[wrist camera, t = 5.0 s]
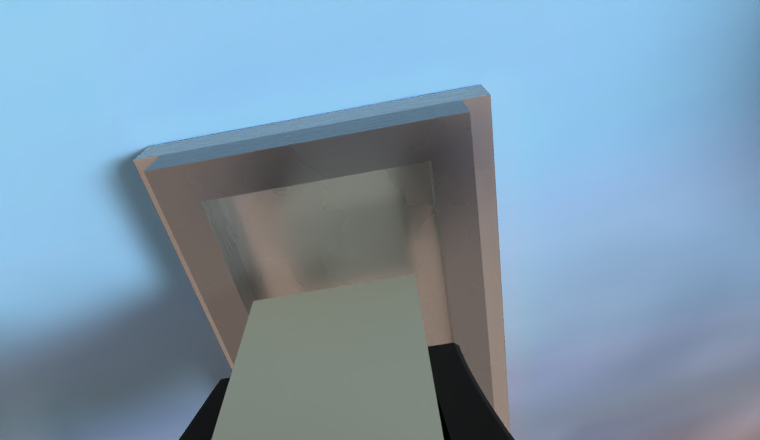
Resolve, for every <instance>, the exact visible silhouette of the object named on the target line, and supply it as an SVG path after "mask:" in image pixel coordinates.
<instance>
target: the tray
mask: <svg viewBox="0 0 760 440" xmlns="http://www.w3.org/2000/svg"><path fill="white" fill-rule="evenodd" d="M133 162H134V164H135V166H136V168H137V170H138V172H139V174H140V176H141V179H142V181H143V183H144V185H145V187H146V189H147V191H148V193H149V195H150V198H151V200H152V202H153V204H154V206H155V208H156V210H157V212H158V215H159V217H160V219H161V221H162V223H163V225H164V227H165V229H166V231H167V234H168V236H169V238H170V240H171V242H172V244H173V246H174V248H175V251H176V253H177V255H178V257H179V259H180V261H181V263H182V265H183V267H184V270H185V272H186V274H187V276H188V278H189V280H190V282H191V284H192V286H193V289H194V291H195V293H196V295H197V297H198V299H199V301H200V303H201V306H202V308H203V310H204V312H205V314H206V316H207V318H208V320H209V322H210V325H211V327H212V329H213V331H214V333H215V335H216V337H217V339H218V341H219V344H220V346H221V348H222V350H223V352H224V354H225V356H226V358H227V361H228V363H229V365H230V367H231V369H232V370H233V367H234V363H235V360H236V357H237V353H238V350H239V347H240V344H241V340H242V337H243V334H244V330H245V327H246V324H247V320H248V317H249V314H250V310H251V307H252V304H253V301H257V300H263V299H269V298H275V297H281V296H287V295H293V294H299V293H305V292H311V291H317V290H323V289H329V288H335V287H341V286H347V285H353V284H359V283H365V282H371V281H377V280H383V279H389V278H395V277H401V276H407V275H413V274H415V278H416V284H417V290H418V295H419V301H420V307H421V312H422V318H423V324H424V330H425V335H426V341H427V347H428V346H434V345H441V344H447V343H453V342H454V343H456V344H457V345H459V346H460V349H461V352H462V354H463V356H464V358H465V361H466V363H467V365H468V367H469V369H470V371H471V372H472V374H473V376H474V378H475V380H476V381H477V383H478V385H479V386H480V388H481V390H482V392H483V393H484V395H485V397H486V398H487V400H488V401H489V403H490V405H491V406H492V408H493V409H494V411H495V412H496V413H497V415H498V416H499V418H500V419H501V421H502V422H503V424H504V425H505V427H506V428H507V430H508V431H509V433H510V422H509V405H508V388H507V371H506V353H505V336H504V319H503V302H502V285H501V268H500V251H499V233H498V216H497V199H496V182H495V165H494V148H493V130H492V113H491V96H490V94H489V92H488V91H487V90H486V89H485V88H484V87H483V86H482V85H476V86H470V87H465V88H460V89H454V90H449V91H444V92H438V93H433V94H427V95H422V96H417V97H411V98H406V99H401V100H395V101H390V102H384V103H379V104H374V105H368V106H363V107H357V108H352V109H347V110H341V111H336V112H331V113H325V114H320V115H314V116H309V117H304V118H298V119H293V120H288V121H282V122H277V123H271V124H266V125H261V126H255V127H250V128H245V129H239V130H234V131H228V132H223V133H218V134H212V135H207V136H201V137H196V138H191V139H185V140H180V141H175V142H169V143H164V144H158V145H153V146H148V147H147V148H146V149H145V150H144V151H143V152H142V153H141V154H140V155H138V156H137V157H136V158H135V159H134V160H133Z"/></svg>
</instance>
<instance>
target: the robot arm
mask: <svg viewBox="0 0 760 440" xmlns="http://www.w3.org/2000/svg"><path fill="white" fill-rule="evenodd" d="M428 352H429V358H430V364H431V369H432V375H433V381H434V386H435V392H436V398H437V404H438V409H439V415H440V421H441V426H442V432H443V438H444V440H514V438H513V437H512V436H511V434H510V433H509V431H508V430H507V428H506V427H505V425H504V424H503V422H502V421H501V419H500V418H499V416H498V415H497V413H496V412H495V411H494V409H493V408H492V406H491V405H490V403H489V401H488V400H487V398H486V397H485V395H484V393H483V392H482V390H481V388H480V386H479V385H478V383H477V381H476V380H475V378H474V376H473V374H472V372H471V371H470V369H469V367H468V365H467V363H466V361H465V358H464V356H463V354H462V352H461V349H460V346H459V345H457V344H456V343H454V342H453V343H447V344H441V345H434V346H428ZM229 380H230V378H225V379H221V380H220V381H219V383H218V384H217V385H216V387H215V388H214V390H213V391H212V392H211V394H210V395H209V397H208V398H207V400H206V401H205V403H204V404H203V406H202V407H201V408H200V410H199V411H198V413H197V414H196V416H195V417H194V419H193V420H192V422H191V423H190V424H189V426H188V427H187V429H186V430H185V432H184V433H183V435H182V436H181V437H180V439H179V440H212V436H213V433H214V430H215V426H216V423H217V420H218V416H219V413H220V410H221V406H222V403H223V400H224V396H225V393H226V390H227V387H228V383H229Z"/></svg>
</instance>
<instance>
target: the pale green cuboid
mask: <svg viewBox="0 0 760 440" xmlns="http://www.w3.org/2000/svg"><path fill="white" fill-rule="evenodd" d="M212 440H444V438H443V432H442V426H441V421H440V415H439V409H438V404H437V398H436V392H435V386H434V381H433V375H432V369H431V364H430V358H429V352H428V347H427V341H426V335H425V330H424V324H423V318H422V312H421V307H420V301H419V295H418V290H417V284H416V278H415V274H413V275H407V276H401V277H395V278H389V279H383V280H377V281H371V282H365V283H359V284H353V285H347V286H341V287H335V288H329V289H323V290H317V291H311V292H305V293H299V294H293V295H287V296H281V297H275V298H269V299H263V300H257V301H253V304H252V307H251V310H250V314H249V317H248V320H247V324H246V327H245V330H244V334H243V337H242V340H241V344H240V347H239V350H238V353H237V357H236V360H235V363H234V367H233V370H232V373H231V377H230V380H229V383H228V387H227V390H226V393H225V396H224V400H223V403H222V406H221V410H220V413H219V416H218V420H217V423H216V426H215V430H214V433H213V436H212Z"/></svg>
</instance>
